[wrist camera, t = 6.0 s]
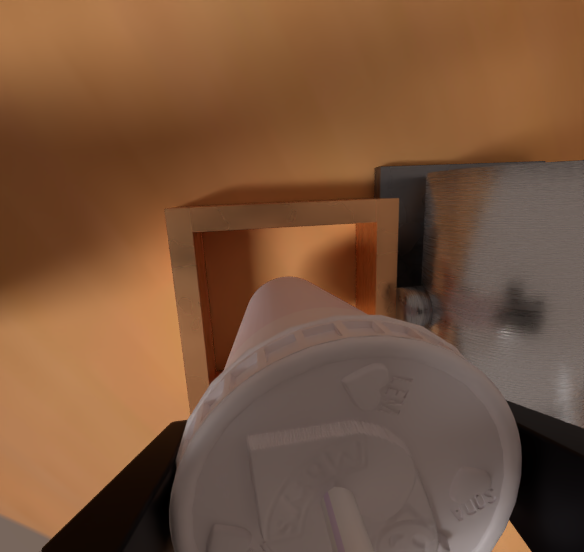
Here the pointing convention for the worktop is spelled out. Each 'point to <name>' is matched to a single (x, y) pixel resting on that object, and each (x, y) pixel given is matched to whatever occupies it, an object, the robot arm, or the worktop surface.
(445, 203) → the motor unit
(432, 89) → the worktop surface
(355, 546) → the white cup with straw
